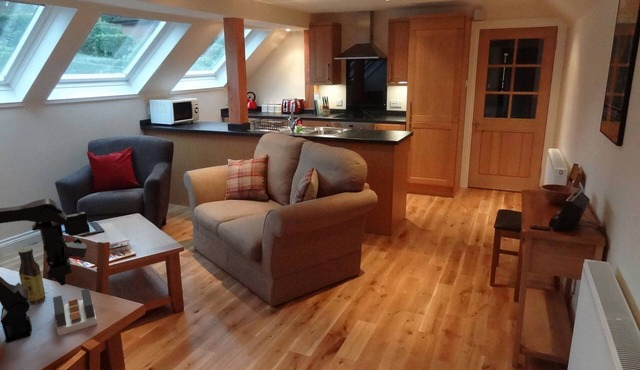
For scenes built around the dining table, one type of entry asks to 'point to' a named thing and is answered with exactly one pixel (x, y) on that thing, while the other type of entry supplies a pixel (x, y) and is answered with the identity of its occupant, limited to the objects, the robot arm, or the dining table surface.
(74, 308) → the block
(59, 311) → the dark grey bar
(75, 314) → the paddle near
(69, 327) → the board
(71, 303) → the paddle far
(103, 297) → the dining table surface
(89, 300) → the dark gray bar
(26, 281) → the sauce bottle
